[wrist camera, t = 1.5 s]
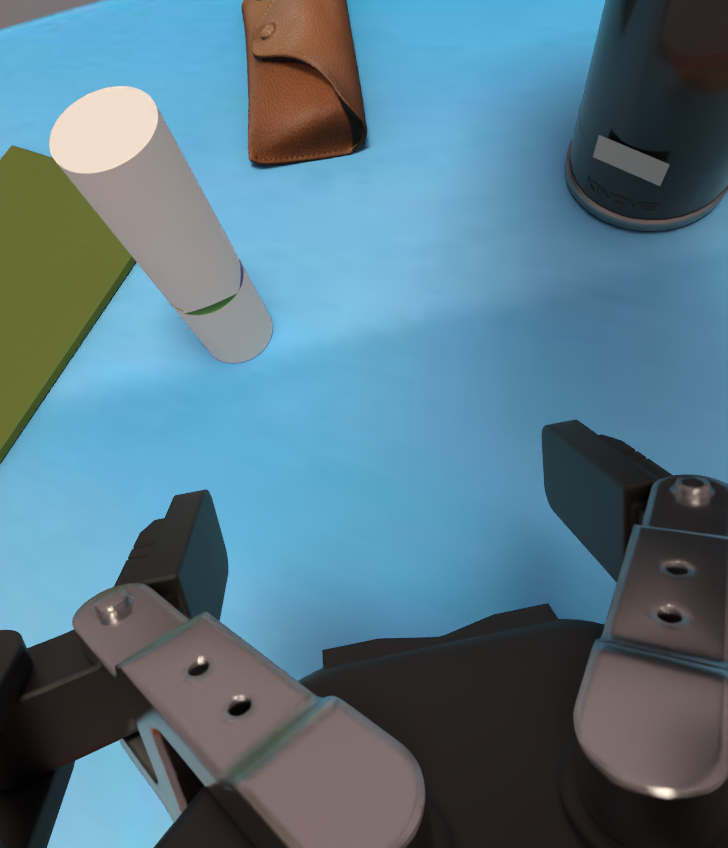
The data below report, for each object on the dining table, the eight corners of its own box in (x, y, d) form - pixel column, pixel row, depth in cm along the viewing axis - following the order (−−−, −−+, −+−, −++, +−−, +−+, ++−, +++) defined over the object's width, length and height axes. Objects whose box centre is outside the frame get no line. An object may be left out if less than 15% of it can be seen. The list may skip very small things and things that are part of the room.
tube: (192, 349, 36) (27, 157, 22) (226, 292, 37) (91, 76, 23) (251, 373, 34) (116, 186, 21) (285, 314, 36) (179, 99, 22)
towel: (17, 151, 44) (11, 144, 44) (177, 201, 40) (173, 194, 40) (-170, 386, 39) (-179, 382, 38) (-6, 472, 34) (-14, 469, 34)
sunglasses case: (234, -3, 46) (253, -99, 41) (318, 25, 49) (347, -62, 44) (247, 170, 40) (272, 83, 34) (344, 190, 42) (382, 113, 37)
